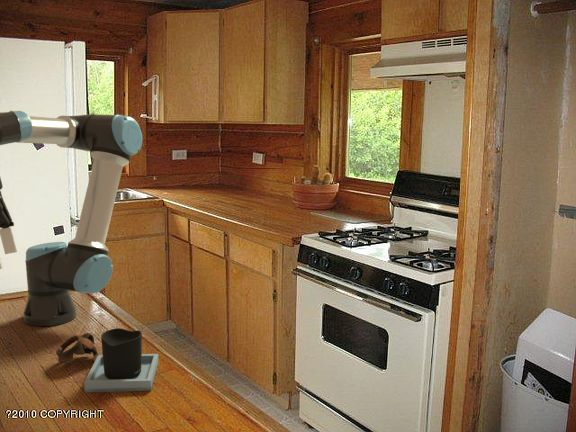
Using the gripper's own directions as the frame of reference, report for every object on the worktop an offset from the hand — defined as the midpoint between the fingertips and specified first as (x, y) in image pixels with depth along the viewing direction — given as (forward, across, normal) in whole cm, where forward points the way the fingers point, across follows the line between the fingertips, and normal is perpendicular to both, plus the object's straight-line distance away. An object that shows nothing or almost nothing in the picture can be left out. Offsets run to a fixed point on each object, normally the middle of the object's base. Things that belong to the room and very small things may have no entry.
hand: (3, 260), depth 146 cm
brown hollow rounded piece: (+30, +2, +12) cm, 32 cm away
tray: (+31, +12, +24) cm, 41 cm away
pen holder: (+30, +12, +24) cm, 40 cm away
